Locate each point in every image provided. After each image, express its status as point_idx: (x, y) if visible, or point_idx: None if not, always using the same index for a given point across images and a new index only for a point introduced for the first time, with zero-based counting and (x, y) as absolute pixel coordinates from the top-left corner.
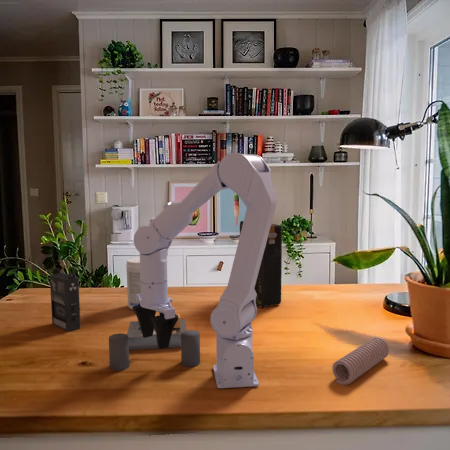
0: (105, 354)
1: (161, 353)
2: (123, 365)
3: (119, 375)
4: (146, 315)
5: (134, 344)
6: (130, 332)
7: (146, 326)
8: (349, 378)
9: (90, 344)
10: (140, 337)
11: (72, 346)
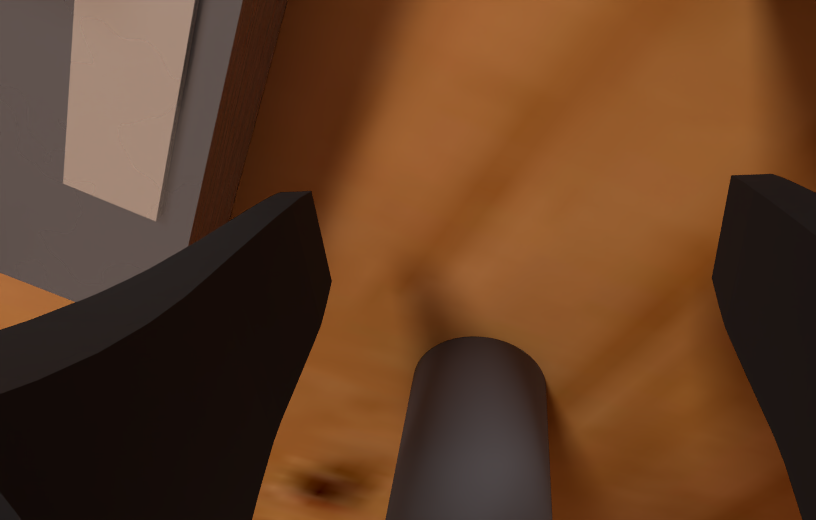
0: None
1: (411, 42)
2: (546, 410)
3: (607, 426)
4: (207, 464)
5: None
6: (40, 264)
7: (277, 338)
8: None
9: None
10: (193, 233)
11: None
